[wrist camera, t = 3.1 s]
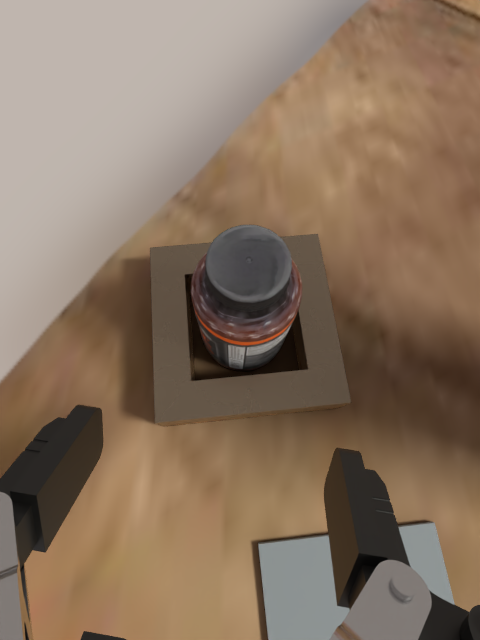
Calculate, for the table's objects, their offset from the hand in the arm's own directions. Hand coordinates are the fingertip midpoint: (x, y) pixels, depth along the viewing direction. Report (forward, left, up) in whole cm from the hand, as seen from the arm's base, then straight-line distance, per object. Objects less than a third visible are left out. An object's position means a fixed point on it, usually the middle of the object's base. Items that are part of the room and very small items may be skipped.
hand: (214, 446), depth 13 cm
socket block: (-2, -8, -13) cm, 15 cm away
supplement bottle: (-2, -8, -13) cm, 16 cm away
